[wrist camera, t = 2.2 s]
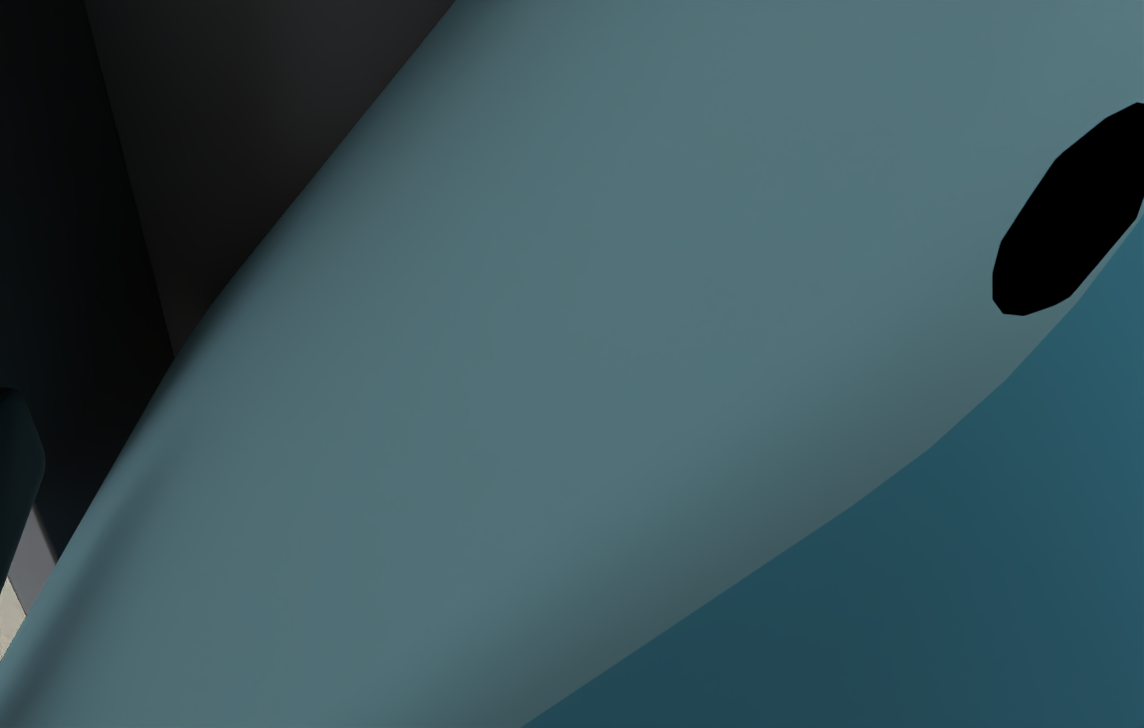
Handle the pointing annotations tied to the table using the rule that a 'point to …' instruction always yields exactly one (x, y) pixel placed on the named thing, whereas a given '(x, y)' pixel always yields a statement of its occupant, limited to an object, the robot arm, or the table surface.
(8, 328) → the black box
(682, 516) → the data package
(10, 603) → the table surface
